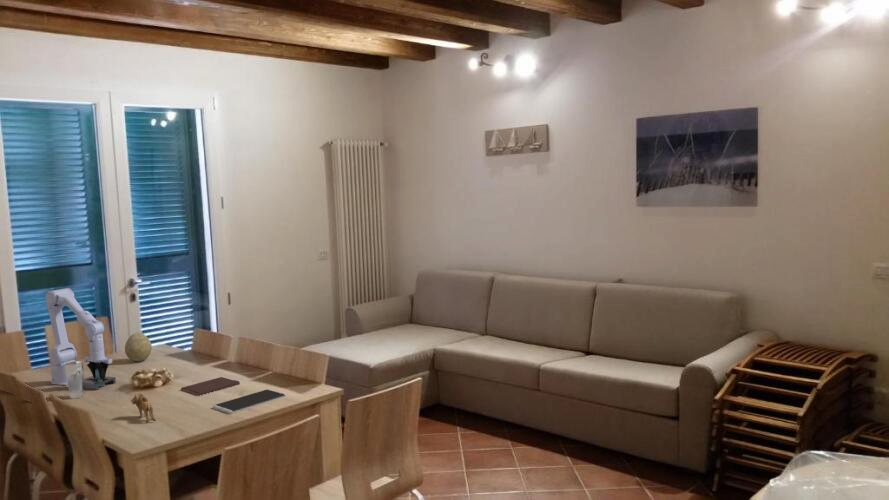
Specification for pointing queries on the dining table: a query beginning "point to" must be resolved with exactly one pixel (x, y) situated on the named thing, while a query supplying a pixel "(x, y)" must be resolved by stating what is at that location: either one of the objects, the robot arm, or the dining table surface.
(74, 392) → the beer glass
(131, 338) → the fossilized egg
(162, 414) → the dining table surface
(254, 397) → the smartphone
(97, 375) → the peg
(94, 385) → the keyhole plate
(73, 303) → the robot arm
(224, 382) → the notebook
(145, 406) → the lion figurine
